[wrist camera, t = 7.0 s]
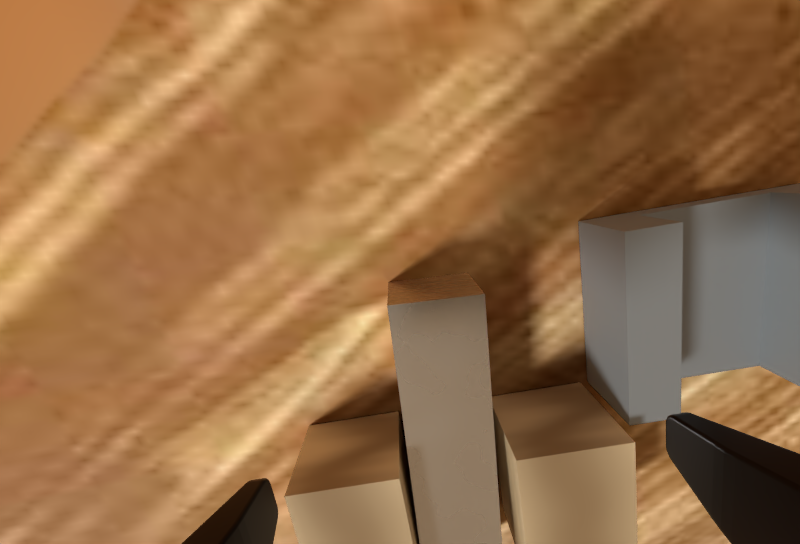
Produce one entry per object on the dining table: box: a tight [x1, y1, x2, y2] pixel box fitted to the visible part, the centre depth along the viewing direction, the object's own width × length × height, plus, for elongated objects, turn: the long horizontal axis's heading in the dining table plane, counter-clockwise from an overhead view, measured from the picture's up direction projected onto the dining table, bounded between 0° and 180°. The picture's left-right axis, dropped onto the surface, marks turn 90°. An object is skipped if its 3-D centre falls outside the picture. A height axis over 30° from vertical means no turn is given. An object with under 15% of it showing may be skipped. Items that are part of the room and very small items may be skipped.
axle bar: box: [387, 273, 502, 544], centre depth 15 cm, size 13×3×3 cm, turn 7°
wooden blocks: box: [284, 382, 638, 544], centre depth 15 cm, size 12×6×4 cm, turn 100°
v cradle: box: [578, 183, 800, 425], centre depth 14 cm, size 8×7×3 cm
